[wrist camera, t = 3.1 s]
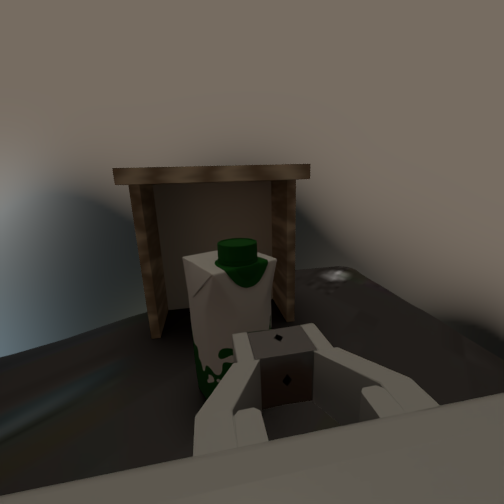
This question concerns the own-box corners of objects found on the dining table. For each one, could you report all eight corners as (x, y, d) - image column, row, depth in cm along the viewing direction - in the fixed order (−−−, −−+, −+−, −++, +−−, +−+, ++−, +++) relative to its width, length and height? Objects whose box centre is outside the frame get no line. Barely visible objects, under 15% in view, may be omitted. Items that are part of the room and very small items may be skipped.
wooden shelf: (143, 361, 39) (112, 168, 32) (162, 307, 56) (144, 174, 49) (306, 338, 43) (310, 163, 36) (277, 295, 61) (276, 170, 53)
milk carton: (222, 440, 27) (207, 254, 22) (189, 386, 34) (172, 238, 29) (285, 399, 32) (285, 239, 26) (244, 360, 39) (238, 228, 34)
